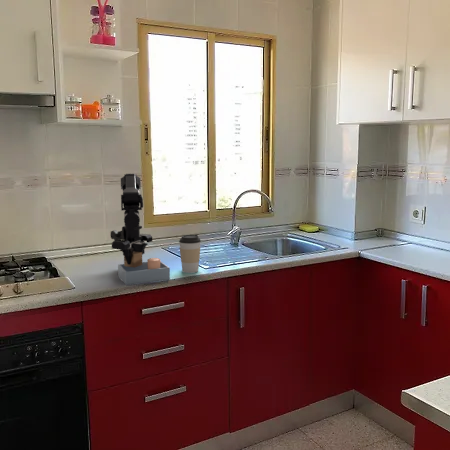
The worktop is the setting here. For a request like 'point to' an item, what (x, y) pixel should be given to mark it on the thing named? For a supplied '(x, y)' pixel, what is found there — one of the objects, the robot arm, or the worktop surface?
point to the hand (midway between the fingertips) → (133, 262)
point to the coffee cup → (190, 253)
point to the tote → (143, 274)
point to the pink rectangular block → (153, 263)
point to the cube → (134, 260)
